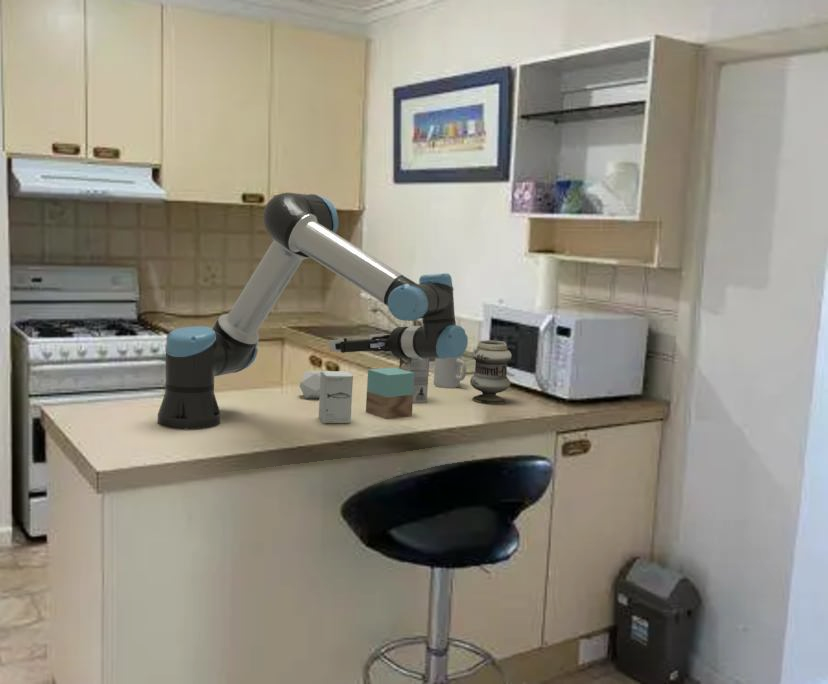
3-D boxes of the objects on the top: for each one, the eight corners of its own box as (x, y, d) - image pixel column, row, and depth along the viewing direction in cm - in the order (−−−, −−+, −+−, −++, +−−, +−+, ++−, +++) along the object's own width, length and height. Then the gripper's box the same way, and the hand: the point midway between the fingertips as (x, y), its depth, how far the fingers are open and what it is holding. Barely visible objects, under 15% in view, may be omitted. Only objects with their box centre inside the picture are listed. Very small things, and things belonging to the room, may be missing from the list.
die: (319, 404, 252) (337, 376, 255) (293, 388, 251) (311, 360, 254) (316, 408, 260) (333, 381, 263) (291, 392, 259) (309, 365, 262)
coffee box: (396, 396, 265) (399, 344, 263) (416, 396, 267) (419, 344, 265) (407, 403, 257) (410, 348, 254) (428, 402, 259) (431, 348, 257)
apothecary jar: (465, 402, 262) (469, 342, 260) (472, 395, 274) (476, 337, 272) (506, 406, 260) (510, 346, 257) (511, 399, 271) (515, 341, 269)
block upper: (387, 397, 234) (388, 375, 234) (366, 391, 241) (368, 369, 240) (413, 394, 240) (414, 372, 239) (392, 388, 247) (393, 367, 246)
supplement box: (322, 424, 225) (324, 375, 224) (318, 417, 233) (320, 370, 231) (351, 423, 227) (353, 375, 226) (345, 417, 235) (347, 370, 233)
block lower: (385, 419, 235) (386, 397, 234) (365, 412, 242) (366, 391, 241) (411, 416, 241) (413, 394, 240) (391, 409, 248) (392, 388, 247)
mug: (428, 384, 287) (430, 351, 286) (445, 382, 293) (447, 349, 292) (455, 391, 279) (457, 356, 277) (473, 388, 285) (475, 355, 284)
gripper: (373, 364, 201) (314, 363, 215) (446, 351, 218) (387, 351, 233) (370, 331, 200) (311, 333, 215) (444, 321, 218) (384, 323, 233)
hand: (350, 342), depth 224 cm, fingers open, 13 cm apart
